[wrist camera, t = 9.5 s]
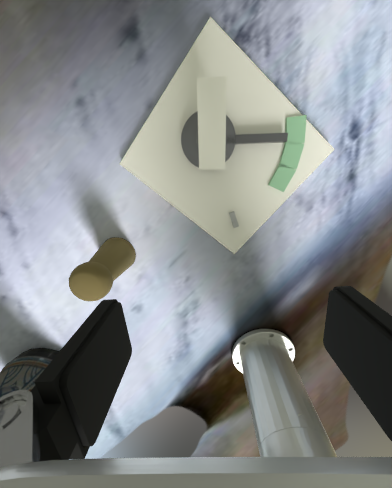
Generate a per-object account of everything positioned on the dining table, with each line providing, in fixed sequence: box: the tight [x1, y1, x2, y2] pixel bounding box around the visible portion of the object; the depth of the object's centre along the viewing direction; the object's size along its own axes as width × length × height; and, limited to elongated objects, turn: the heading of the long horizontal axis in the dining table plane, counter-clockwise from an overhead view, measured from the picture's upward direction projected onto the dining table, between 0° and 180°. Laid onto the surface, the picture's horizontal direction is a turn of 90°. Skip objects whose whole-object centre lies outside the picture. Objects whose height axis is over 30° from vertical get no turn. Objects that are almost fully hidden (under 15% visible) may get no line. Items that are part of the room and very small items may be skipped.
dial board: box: [120, 17, 334, 254], centre depth 29 cm, size 22×20×2 cm
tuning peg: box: [181, 76, 288, 170], centre depth 22 cm, size 14×7×10 cm, turn 92°
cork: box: [69, 237, 136, 301], centre depth 30 cm, size 6×6×11 cm
